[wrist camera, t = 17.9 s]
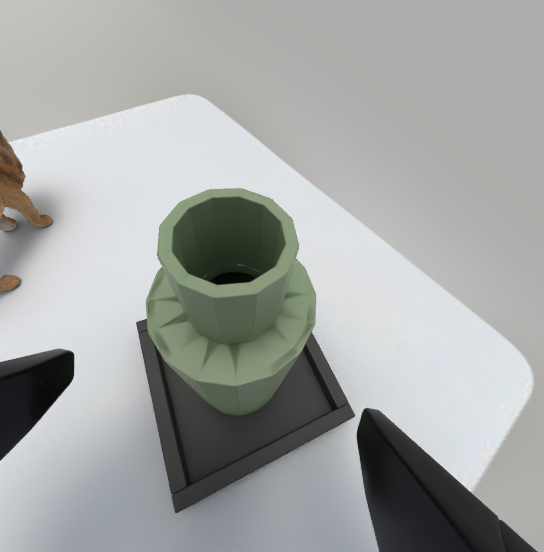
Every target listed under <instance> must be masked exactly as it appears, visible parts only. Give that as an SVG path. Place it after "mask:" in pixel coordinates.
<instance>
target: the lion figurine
mask: <svg viewBox="0 0 544 552" xmlns="http://www.w3.org/2000/svg"><path fill="white" fill-rule="evenodd" d="M24 178H25V174H24V172H23V171H22V164H21V162H20V161H19V159H18V158H17V156H16V155H15V153H14V151H13V149H12V147H11V146H10V144H9V143H8V142H7V140H6V139H5V137H4V136H3V135H2V132H1V131H0V230H2V231H11V230H13V229H15V227H16V225H17V222H16V220H15V219H11V218H9V217H6V216H5V215H3V211H4V208H5V207H9V208H12V209H16V210H18V211H19V212H20V213H22V214H23V215H24V216H25V217H26V218H27V220H28V221H29V223H30V224H32V225H35V226H37V227H46V226H48V225H50V224H51V223H52V219H51V217H49V216H47V215H39V213H38V211H37V210H36V208H35V207H34V205H33V203H32V201H31V200H30V198H29V197H28V196H27V195H26V194H25V193H23V192H22V190H21V188H22V187H23V182H24ZM19 283H20V279H19V278H18V277H16V276H14V275H4V276H3V277H1V278H0V291H8V290H11V289H13V288H15V287H16V286H17V285H18V284H19Z"/></svg>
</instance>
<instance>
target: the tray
mask: <svg viewBox="0 0 544 552" xmlns="http://www.w3.org/2000/svg"><path fill="white" fill-rule="evenodd" d="M136 324H137V329H138V333H139V339H140V344H141V349H142V353H143V358H144V363H145V368H146V373H147V378H148V383H149V388H150V393H151V397H152V402H153V407H154V412H155V417H156V422H157V427H158V432H159V437H160V441H161V446H162V451H163V456H164V461H165V466H166V471H167V476H168V481H169V485H170V490H171V494H173V495H172V500H173V505H174V509H175V513H178V512H180V511H182V510H184V509H186V508H187V507H189V506H191V505H193V504H195V503H197V502H198V501H200V500H202V499H204V498H206V497H208V496H210V495H211V494H213V493H215V492H217V491H219V490H221V489H222V488H224V487H226V486H228V485H230V484H232V483H233V482H235V481H237V480H239V479H241V478H243V477H245V476H246V475H248V474H250V473H252V472H254V471H256V470H257V469H259V468H261V467H263V466H265V465H267V464H268V463H270V462H272V461H274V460H276V459H278V458H280V457H281V456H283V455H285V454H287V453H289V452H291V451H292V450H294V449H296V448H298V447H300V446H302V445H303V444H305V443H307V442H309V441H311V440H313V439H315V438H316V437H318V436H320V435H322V434H324V433H326V432H327V431H329V430H331V429H333V428H335V427H337V426H338V425H340V424H342V423H344V422H346V421H348V420H350V419H351V418H353V417H355V414H354V412H353V410H352V408H351V407H350V405H349V403H348V400H347V398H346V397H345V395H344V393H343V391H342V389H341V387H340V385H339V383H338V381H337V379H336V377H335V376H334V374H333V372H332V370H331V368H330V366H329V364H328V362H327V360H326V358H325V356H324V355H323V353H322V351H321V349H320V347H319V345H318V343H317V341H316V339H315V337H314V335H313V334H312V332H311V334H310V336H309V338H308V340H307V342H306V344H305V346H304V348H303V350H302V352H301V354H300V355H299V357H298V358H297V360H296V361H295V363H294V364H293V366H292V367H291V369H290V370H289V372H288V373H287V375H286V376H285V378H284V380H283V381H282V383H281V384H280V386H279V387H278V389H277V390H276V392H275V393H274V395H273V396H272V398H271V399H270V400H269V401H268V402H267V403H266V404H265V405H264V406H263V407H261V408H260V409H259V410H257V411H255V412H253V413H250V414H247V415H242V416H233V415H228V414H223V413H221V412H220V411H218V410H216V409H215V408H214V407H212V406H211V405H209V404H208V403H207V402H206V401H205V400H204V399H203V398H202V397H201V396H200V395H199V394H198V393H197V392H196V391H195V390H194V389H193V388H192V387H191V386H190V385H189V384H188V383H187V382H186V381H185V380H184V379H183V378H182V377H181V376H179V375H178V374H177V373H176V372H175V371H174V370H173V369H172V368H171V367H170V366H169V365H168V364H167V363H166V362H165V360H164V359H163V357H162V355H161V354H160V352H159V350H158V349H157V347H156V345H155V344H154V342H153V340H152V339H151V337H150V335H149V332H148V326H147V319H145V320H142V321H139V322H136Z"/></svg>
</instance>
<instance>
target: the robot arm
mask: <svg viewBox="0 0 544 552" xmlns="http://www.w3.org/2000/svg"><path fill="white" fill-rule="evenodd" d="M73 377H74V353H73V352H72V351H69V350H64V349H55V350H50V351H46V352H42V353H38V354H33V355H29V356H25V357H21V358H16V359H12V360H8V361H4V362H0V461H1V460H2V459H3V458H4V457H5V456H6V455H7V454H8V453H9V452H10V451H11V450H12V449H13V448H14V447H15V446H16V445H17V444H18V443H19V442H20V441H21V439H22V438H23V437H24V436H25V435H26V434H27V433H28V432H29V431H30V430H31V429H32V428H33V427H34V426H35V425H36V423H37V422H38V421H39V420H40V419H41V418H42V416H43V415H44V414H45V413H46V412H47V411H48V409H49V408H50V407H51V406H52V405H53V403H54V402H55V401H56V400H57V399H58V398H59V396H60V395H61V394H62V393H63V392H64V390H65V389H66V388H67V387H68V386H69V385H70V383H71V382H72V380H73ZM357 443H358V449H359V456H360V463H361V470H362V476H363V483H364V489H365V495H366V499H367V504H368V508H369V512H370V516H371V520H372V524H373V528H374V532H375V536H376V540H377V544H378V549H379V552H537V551H536V550H535V549H534V548H533V547H531V546H530V545H529V544H528V543H526V542H525V540H523V539H522V538H521V537H520V536H519V535H518V534H517V533H516V532H514V531H513V530H512V529H511V528H510V527H509V526H508V525H507V524H506V523H505V522H503V521H502V520H499V519H498V517H497V515H495V514H494V513H493V512H492V511H491V510H490V509H489V508H488V507H487V506H485V505H484V504H483V503H482V502H481V501H480V500H479V499H478V498H476V497H475V496H474V495H473V494H472V493H471V492H470V491H469V490H468V489H466V488H465V487H464V486H463V485H462V484H461V483H460V482H459V481H457V480H456V479H455V478H454V477H453V476H452V475H451V474H450V473H449V472H447V471H446V470H445V469H444V468H443V467H442V466H441V465H440V464H438V463H437V462H436V461H435V460H434V459H433V458H432V457H431V456H430V455H428V454H427V453H426V452H425V451H424V450H423V449H422V448H421V447H419V446H418V445H417V444H416V443H415V442H414V441H413V440H412V439H411V438H409V437H408V436H407V435H406V434H405V433H404V432H403V431H402V430H401V429H399V428H398V427H397V426H396V425H395V424H394V423H393V422H392V421H390V420H389V419H388V418H387V417H386V416H385V415H384V414H383V413H382V412H380V411H379V410H376V409H370V408H365V409H364V411H363V413H362V416H361V420H360V423H359V426H358V430H357Z"/></svg>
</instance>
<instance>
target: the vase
mask: <svg viewBox="0 0 544 552" xmlns="http://www.w3.org/2000/svg"><path fill="white" fill-rule="evenodd" d="M298 249H299V243H298V239H297V235H296V231H295V227H294V223H293V220H292V218H291V217H290V216H289V215H288V214H287V213H286V212H285V211H284V210H283V209H282V208H281V207H279V206H278V205H277V204H276V203H275V202H274V201H273V200H272V199H270V198H268V197H265V196H262V195H259V194H257V193H254V192H251V191H248V190H245V189H241V188H236V189H210V190H206V191H204V192H202V193H200V194H197V195H195V196H193V197H190V198H188V199H186V200H184V201H181V202H180V203H178V204H177V206H176V207H175V208H174V209H173V210H172V212H171V213H170V214H169V215H168V216H167V218H166V219H165V220H164V221H163V222H162V224H161V225H160V227H159V238H158V251H157V256H158V259H159V261H160V263H161V265H162V268H161V269H160V270H159V271H158V272H157V274H156V277H155V279H154V282H153V284H152V287H151V289H150V292H149V294H148V297H147V299H146V310H147V326H148V332H149V335H150V337H151V339H152V340H153V342H154V344H155V345H156V347H157V349H158V350H159V352H160V354H161V355H162V357H163V359H164V360H165V362H166V363H167V364H168V365H169V366H170V367H171V368H172V369H173V370H174V371H175V372H176V373H177V374H178V375H179V376H181V377H182V378H183V379H184V380H185V381H186V382H187V383H188V384H189V385H190V386H191V387H192V388H193V389H194V390H195V391H196V392H197V393H198V394H199V395H200V396H201V397H202V398H203V399H204V400H205V401H206V402H207V403H208V404H209V405H211V406H212V407H214V408H215V409H216V410H218V411H220V412H221V413H223V414H228V415H233V416H242V415H247V414H250V413H253V412H255V411H257V410H259V409H260V408H261V407H263V406H264V405H265V404H266V403H267V402H268V401H269V400H270V399H271V398H272V396H273V395H274V393H275V392H276V390H277V389H278V387H279V386H280V384H281V383H282V381H283V380H284V378H285V376H286V375H287V373H288V372H289V370H290V369H291V367H292V366H293V364H294V363H295V361H296V360H297V358H298V357H299V355H300V354H301V352H302V350H303V348H304V346H305V344H306V342H307V340H308V338H309V336H310V334H311V332H312V330H313V328H314V326H315V313H316V293H315V291H314V288H313V286H312V283H311V281H310V278H309V276H308V274H307V271H306V269H305V267H304V266H303V265H302V264H301V263H300V262H299V261H298V260H297V259H296V256H297V252H298Z"/></svg>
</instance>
